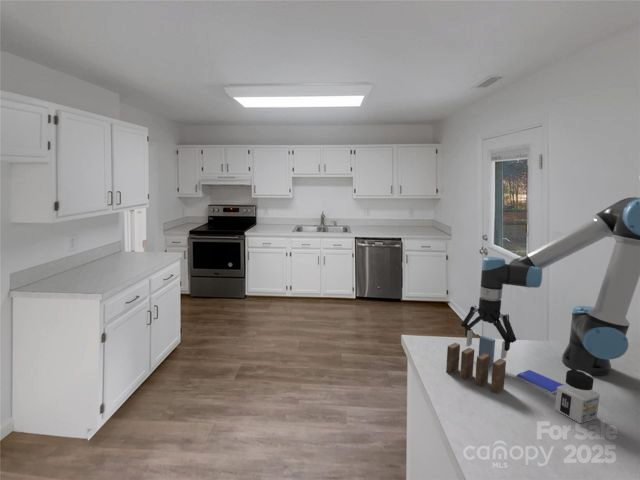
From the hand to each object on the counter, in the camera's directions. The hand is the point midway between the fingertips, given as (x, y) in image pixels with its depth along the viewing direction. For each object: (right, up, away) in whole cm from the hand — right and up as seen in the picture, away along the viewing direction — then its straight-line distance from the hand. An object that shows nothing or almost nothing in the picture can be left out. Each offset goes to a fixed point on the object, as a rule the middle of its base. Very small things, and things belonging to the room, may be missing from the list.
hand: (485, 351), depth 142 cm
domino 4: (-5, -7, -19) cm, 21 cm away
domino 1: (-15, -5, -6) cm, 17 cm away
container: (+13, -9, -32) cm, 35 cm away
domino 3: (-8, -7, -15) cm, 18 cm away
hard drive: (+13, -7, -13) cm, 20 cm away
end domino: (0, -5, +1) cm, 5 cm away
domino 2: (-12, -6, -10) cm, 17 cm away
